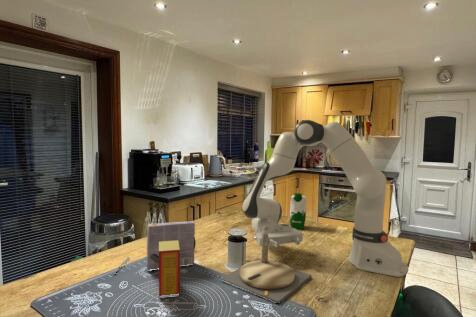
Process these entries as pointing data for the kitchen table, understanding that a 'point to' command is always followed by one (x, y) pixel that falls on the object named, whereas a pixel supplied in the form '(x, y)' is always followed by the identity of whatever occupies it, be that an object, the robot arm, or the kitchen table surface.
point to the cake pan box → (169, 233)
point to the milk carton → (297, 211)
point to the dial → (266, 270)
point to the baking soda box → (169, 267)
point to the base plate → (271, 294)
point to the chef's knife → (125, 261)
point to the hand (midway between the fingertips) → (288, 244)
